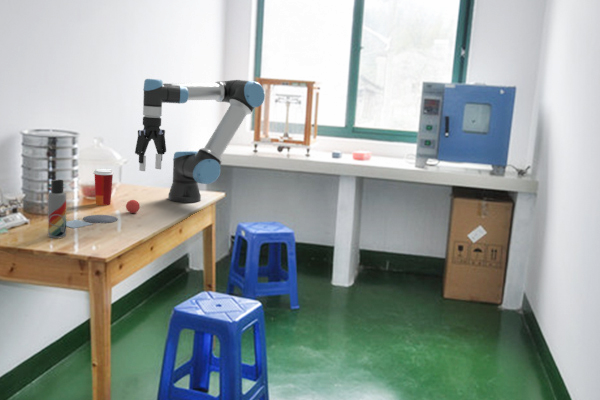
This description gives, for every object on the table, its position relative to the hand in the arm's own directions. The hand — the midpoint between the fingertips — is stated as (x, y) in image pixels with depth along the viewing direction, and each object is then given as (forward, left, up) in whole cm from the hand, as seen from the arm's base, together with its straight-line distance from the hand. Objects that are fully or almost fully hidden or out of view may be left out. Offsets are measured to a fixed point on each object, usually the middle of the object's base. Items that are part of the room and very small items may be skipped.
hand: (150, 169), depth 256 cm
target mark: (+26, 0, -17) cm, 32 cm away
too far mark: (+38, 0, -17) cm, 42 cm away
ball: (+9, 0, -15) cm, 17 cm away
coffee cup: (+7, -20, -18) cm, 28 cm away
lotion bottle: (+53, +9, -18) cm, 57 cm away
